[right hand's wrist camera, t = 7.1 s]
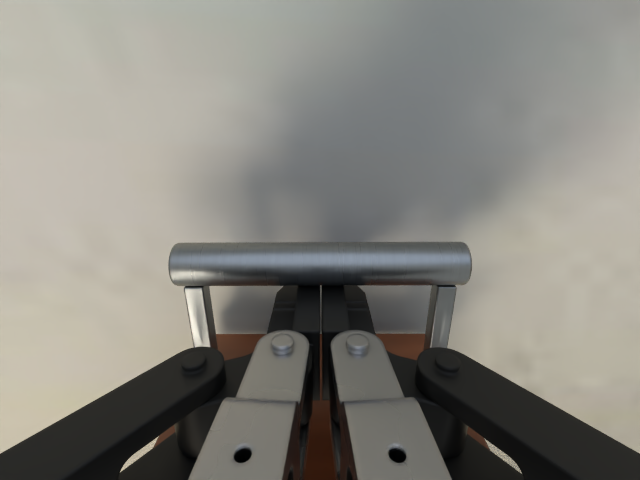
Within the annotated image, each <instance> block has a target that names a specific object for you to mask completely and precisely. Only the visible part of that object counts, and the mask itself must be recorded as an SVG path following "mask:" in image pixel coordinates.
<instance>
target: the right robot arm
mask: <svg viewBox="0 0 640 480" xmlns="http://www.w3.org/2000/svg"><path fill="white" fill-rule="evenodd" d="M313 400H320V286H284V287H283V288H282V289H281V290H279V291H278V292H277V294H276V299H275V303H274V307H273V311H272V315H271V320H270V324H269V328H268V332H267V334H266V335H265V336H263V337H262V338H261V339H260V340H259V341H258V342H257V344H256V347H255V349H254V352H252V353H250V354H248V355H245V356H242V357H238V358H234V359H230V360H225V361H224V357H223V354H222V353H221V352H220V351H219V350H217V349H215V348H212V347H195V348H190V349H187V350H184V351H182V352H180V353H178V354H176V355H175V356H173V357H171V358H169V359H168V360H166V361H164V362H162V363H160V364H159V365H157V366H155V367H153V368H152V369H150V370H148V371H146V372H144V373H143V374H141V375H139V376H137V377H136V378H134V379H132V380H130V381H129V382H127V383H125V384H123V385H121V386H120V387H118V388H116V389H114V390H113V391H111V392H109V393H107V394H105V395H104V396H102V397H100V398H98V399H97V400H95V401H93V402H91V403H90V404H88V405H86V406H84V407H82V408H81V409H79V410H77V411H75V412H74V413H72V414H70V415H68V416H66V417H65V418H63V419H61V420H59V421H58V422H56V423H54V424H52V425H51V426H49V427H47V428H45V429H43V430H42V431H40V432H38V433H36V434H35V435H33V436H31V437H29V438H27V439H26V440H24V441H22V442H20V443H19V444H17V445H15V446H13V447H11V448H10V449H8V450H6V451H4V452H3V453H1V454H0V480H304V475H305V467H306V458H307V450H308V441H309V433H310V418H311V416H312V411H313ZM322 400H330V433H331V441H332V450H333V458H334V467H335V475H336V480H640V454H639V453H637V452H636V451H634V450H632V449H630V448H629V447H627V446H625V445H623V444H621V443H620V442H618V441H616V440H614V439H613V438H611V437H609V436H607V435H605V434H604V433H602V432H600V431H598V430H597V429H595V428H593V427H591V426H590V425H588V424H586V423H584V422H582V421H581V420H579V419H577V418H575V417H574V416H572V415H570V414H568V413H566V412H565V411H563V410H561V409H559V408H558V407H556V406H554V405H552V404H550V403H549V402H547V401H545V400H543V399H542V398H540V397H538V396H536V395H535V394H533V393H531V392H529V391H527V390H526V389H524V388H522V387H520V386H519V385H517V384H515V383H513V382H511V381H510V380H508V379H506V378H504V377H503V376H501V375H499V374H497V373H496V372H494V371H492V370H490V369H488V368H487V367H485V366H483V365H481V364H480V363H478V362H476V361H474V360H472V359H471V358H469V357H467V356H465V355H464V354H462V353H460V352H457V351H455V350H452V349H448V348H441V347H434V348H429V349H426V350H424V351H422V352H421V353H420V354H419V356H418V358H417V360H414V359H409V358H405V357H401V356H397V355H395V354H392V353H390V352H389V351H387V350H386V349H385V347H384V344H383V342H382V341H381V340H380V339H379V338H378V337H377V336H376V335H375V331H374V327H373V323H372V319H371V315H370V311H369V307H368V303H367V299H366V295H365V292H363V291H362V290H361V289H360V288H359V287H358V286H344V285H324V286H322ZM173 425H174V427H175V432H174V433H173V434H172V435H170V436H169V437H168V438H166V439H165V440H164V441H162V442H161V443H160V444H158V445H157V446H156V447H154V448H153V449H151V450H150V451H149V452H147V453H146V454H145V455H143V456H142V457H141V458H139V459H138V460H137V461H135V462H134V463H133V464H131V465H130V466H129V467H127V468H126V469H125V470H123V471H122V472H120V470H121V468H122V467H123V465H124V464H125V462H126V461H127V460H128V459H129V458H130V457H131V456H132V455H133V454H134V453H136V452H137V451H139V450H140V449H141V448H143V447H144V446H145V445H147V444H148V443H150V442H151V441H152V440H154V439H155V438H157V437H158V436H159V435H161V434H162V433H163V432H165V431H166V430H168V429H169V428H170V427H172V426H173ZM468 427H470V428H471V429H472V430H474V431H475V432H477V433H478V434H479V435H481V436H482V437H483V438H485V439H486V440H488V441H489V442H490V443H492V444H493V445H495V446H496V447H497V448H499V449H500V450H501V451H503V452H504V453H506V454H507V455H508V456H510V457H511V458H512V459H513V460H514V461H515V462H516V464H517V465H518V466H519V468H520V470H521V472H522V474H523V475H522V474H521V473H520V472H518V471H517V470H516V469H514V468H513V467H511V466H510V465H509V464H507V463H506V462H505V461H503V460H502V459H501V458H499V457H498V456H497V455H495V454H494V453H493V452H491V451H490V450H489V449H487V448H486V447H485V446H483V445H482V444H480V443H479V442H478V441H476V440H475V439H474V438H472V437H471V436H470V435H468V434H467V430H468Z"/></svg>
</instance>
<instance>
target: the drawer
mask: <svg viewBox="0 0 640 480" xmlns="http://www.w3.org/2000/svg"><path fill="white" fill-rule="evenodd" d="M471 271H472V259H471V254H470V250H469V248H468V246H467V245H466V244H465V243H463V242H280V243H177V244H175V245H174V246H173V248H172V250H171V253H170V256H169V275H170V278H171V281H172V282H173V284H175V285H177V286H185V287H184V292H185V298H186V303H187V309H188V315H189V321H190V327H191V333H192V338H193V344H194V348H195V347H212V348H215V349H217V350H219V351H220V352H221V353H222V354H223V357H224V361H225V360H230V359H234V358H238V357H242V356H245V355H248V354H250V353H252V352H254V349H255V347H256V344H257V342H258V341H259V340H260V339H261V338H262V337H263V336H265V335H266V334H216V332H215V325H214V318H213V311H212V303H211V296H210V289H209V286H324V285H432V287H431V294H430V302H429V310H428V317H427V325H426V333H425V334H375V335H376V336H377V337H378V338H379V339H380V340H381V341H382V342H383V344H384V347H385V349H386V350H387V351H389V352H390V353H392V354H395V355H397V356H401V357H405V358H409V359H414V360H417V358H418V356H419V354H420V353H421V352H422V351H424V350H426V349H429V348H434V347H441V348H447V345H448V339H449V332H450V326H451V320H452V314H453V307H454V301H455V295H456V289H457V288H456V286H455V285H464V284H466V283H467V282H468V281H469V279H470V276H471ZM174 432H175V427H174V425H173V426H172V427H170V428H169V429H168V430H166V431H165V432H163V433H162V434H161V435H159V437H158V439H157V441H156V443H155V445H154V447H156V446H157V445H158V444H160V443H161V442H162V441H164V440H165V439H166V438H168V437H169V436H170V435H172V434H173V433H174ZM467 434H468V435H470V436H471V437H472V438H474V439H475V440H476V441H478V442H479V443H480V444H482V445H483V446H485V447H486V448H487V449H489V447H488V445H487V443H486V441H485V439H484V438H483V437H482V436H481V435H479V434H478V433H477V432H475V431H474V430H472V429H471V428H470V427H468V430H467ZM154 447H153V448H154ZM489 450H490V449H489ZM304 480H336V475H335V467H334V458H333V450H332V441H331V433H330V400H322V334H320V400H313V411H312V416H311V418H310V433H309V441H308V450H307V458H306V467H305V475H304Z"/></svg>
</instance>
